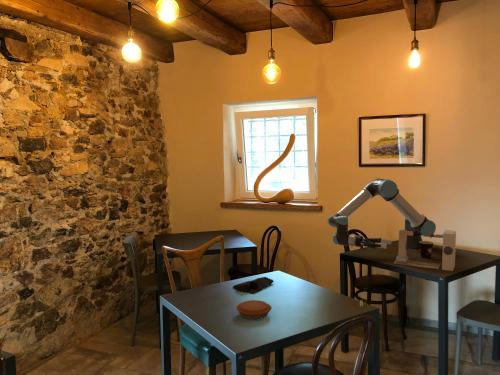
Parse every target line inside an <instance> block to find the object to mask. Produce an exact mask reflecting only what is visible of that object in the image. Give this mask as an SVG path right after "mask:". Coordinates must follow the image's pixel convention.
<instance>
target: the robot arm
mask: <svg viewBox="0 0 500 375" xmlns="http://www.w3.org/2000/svg"><path fill="white" fill-rule="evenodd" d="M376 196H380V197H381V198H382V199H383V200H384V201H385V202H388V203H390V204H391V205H392V206H393V207H394V208H395V209H396V210H397V211H398V212H399V213H401V215H402V216H403V217H404V230H407V231H413V236H410V235H407V241H406V249H407V248H408V249H416V247H417V246H418V245H420V244H419V242H420V241H423V237H426V238H430V233H432V234H436V229H437V226H436V223H435V222H434V221H433V220H430V219H428V218H427V217H426V215H424V214H420V213H419V212H418V210H416V209H415V207H414V206H413V205H411V204H410V203H409V202H408V201H407V200H406V198H404V196H402V195H401V194H400V189H399V188H398V185H397V184H396V182H395V181H394V180H391V179H384V178H375V179H373V180H371V181H370V182H368V183H367V184H366V185H365V186H364V187H362V190H361V191H360V192H359V193H358V194H356V195H355V197H353V198H352V199H351V200H350V201H348V202H347V203H346V204H345V205H344V206H343V207H342V208H341V209H340V210H339V211H337V212H336V213H335V214H334V215H330V216H328V218H327V224H328V226H330V227H332V228H335V229H336V233H333V235H332V242H333V244H334V245H339V246H349V247H351V248H353V247H357V248H361V247H367V248H371V249H374V250H375V249H376V248H377V249H387V246H388V245H392V239H384V238H382V237H377V238H375V237H373V238H371V237H365V238H364V236H363V235H359V234H358V235H356V234H349V219H348V218H350V216H351V215H353V214H354V213H355V212H356V211H357V210H359V208H361V207H362V206H363V205H364V204H366V202H367V201H369V200H370V199H373V198H374V197H376ZM417 249H420V246H418V247H417Z"/></svg>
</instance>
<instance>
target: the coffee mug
mask: <svg viewBox="0 0 500 375" xmlns="http://www.w3.org/2000/svg"><path fill="white" fill-rule="evenodd" d="M419 244H420V245H418V246H420V248H419V249H418V248H417V247H418V246H417V247H416V248H415V249H416V251H417V252H418V253H419V254H420V258H422V259H427V260H428V259H432V253H433V249H434V242H433V241H426V240H422V241H420V242H419Z"/></svg>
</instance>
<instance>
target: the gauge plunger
mask: <svg viewBox="0 0 500 375" xmlns="http://www.w3.org/2000/svg"><path fill="white" fill-rule="evenodd" d="M432 238H436V239H437V238H438V239H443V234H438V233H434V234H432V233H430V237H429V239H432Z"/></svg>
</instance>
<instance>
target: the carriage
mask: <svg viewBox="0 0 500 375" xmlns="http://www.w3.org/2000/svg"><path fill="white" fill-rule="evenodd" d="M407 235H410V236H413V231H407V230H405V229H399V231H398V251H397V252H398V255H397V256H396V258H395V261H403V262H406V261H407V260H409V256H408V255H407V247H406V241H407Z"/></svg>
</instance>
